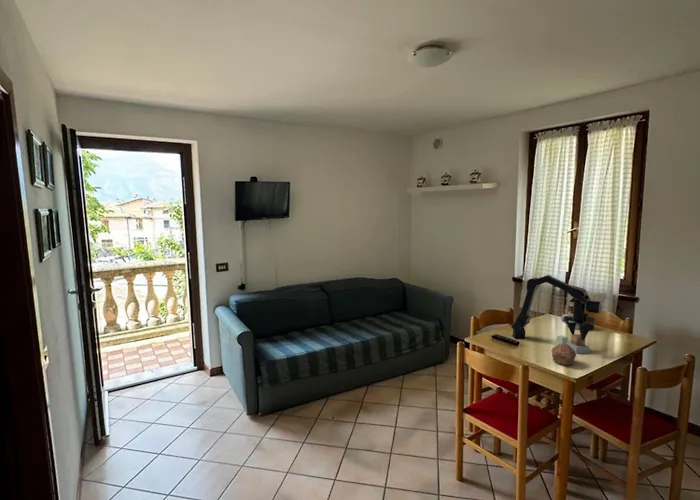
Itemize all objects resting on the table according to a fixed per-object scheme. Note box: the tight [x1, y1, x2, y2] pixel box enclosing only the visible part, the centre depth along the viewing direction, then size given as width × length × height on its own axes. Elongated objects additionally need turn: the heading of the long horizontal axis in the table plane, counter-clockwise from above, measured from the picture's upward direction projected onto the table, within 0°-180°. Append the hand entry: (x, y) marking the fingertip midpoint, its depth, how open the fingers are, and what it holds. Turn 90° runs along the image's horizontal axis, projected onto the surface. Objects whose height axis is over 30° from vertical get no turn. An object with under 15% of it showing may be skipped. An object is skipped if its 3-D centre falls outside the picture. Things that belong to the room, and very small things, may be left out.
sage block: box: [556, 334, 569, 344], centre depth 230 cm, size 4×4×4 cm
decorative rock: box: [550, 343, 577, 366], centre depth 200 cm, size 13×11×10 cm
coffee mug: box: [561, 311, 580, 331], centre depth 260 cm, size 13×10×10 cm
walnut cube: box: [570, 333, 586, 346], centre depth 217 cm, size 5×5×5 cm
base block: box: [566, 341, 590, 355], centre depth 217 cm, size 8×8×4 cm
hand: (577, 337), depth 217 cm, fingers open, 9 cm apart
